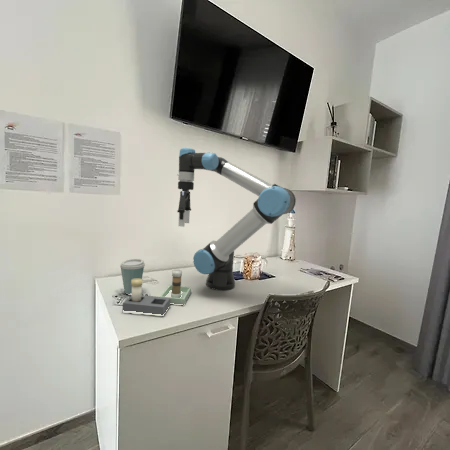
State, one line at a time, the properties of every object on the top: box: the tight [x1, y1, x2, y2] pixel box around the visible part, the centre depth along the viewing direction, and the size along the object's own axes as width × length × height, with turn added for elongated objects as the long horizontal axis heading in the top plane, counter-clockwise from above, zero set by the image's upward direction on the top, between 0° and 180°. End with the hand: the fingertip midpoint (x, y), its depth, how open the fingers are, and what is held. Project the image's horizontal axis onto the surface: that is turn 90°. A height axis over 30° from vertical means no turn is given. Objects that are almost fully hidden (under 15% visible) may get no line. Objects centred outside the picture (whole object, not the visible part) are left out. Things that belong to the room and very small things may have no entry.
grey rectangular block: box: [122, 294, 171, 315], centre depth 104 cm, size 16×9×4 cm, turn 85°
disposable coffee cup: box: [119, 258, 146, 294], centre depth 120 cm, size 11×11×15 cm
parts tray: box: [159, 284, 192, 306], centre depth 118 cm, size 11×15×3 cm
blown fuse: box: [171, 269, 183, 298], centre depth 117 cm, size 4×4×12 cm
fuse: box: [131, 278, 144, 302], centre depth 104 cm, size 4×4×12 cm
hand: (184, 224), depth 130 cm, fingers open, 13 cm apart
